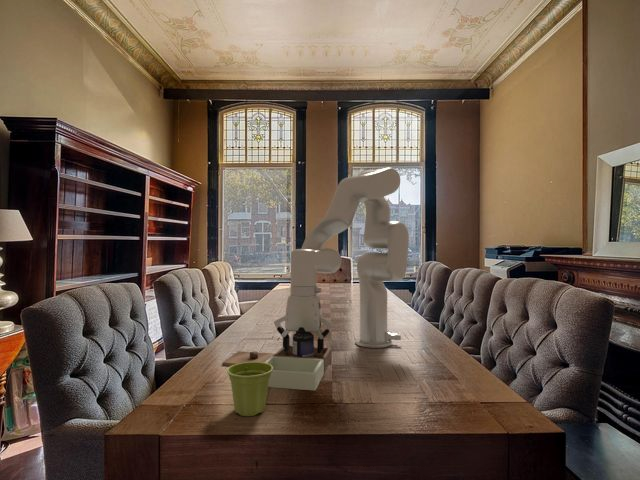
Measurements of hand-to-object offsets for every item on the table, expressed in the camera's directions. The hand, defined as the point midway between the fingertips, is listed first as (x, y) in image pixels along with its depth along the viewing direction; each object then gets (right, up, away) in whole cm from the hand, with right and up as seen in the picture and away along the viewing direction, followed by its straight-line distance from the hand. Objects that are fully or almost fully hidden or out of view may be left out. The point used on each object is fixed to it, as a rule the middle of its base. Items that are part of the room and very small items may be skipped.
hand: (303, 351), depth 108 cm
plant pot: (-10, -3, -31) cm, 32 cm away
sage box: (-2, -4, -13) cm, 14 cm away
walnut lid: (-15, -4, +3) cm, 15 cm away
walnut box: (0, -4, 0) cm, 4 cm away
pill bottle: (0, -4, 0) cm, 4 cm away
